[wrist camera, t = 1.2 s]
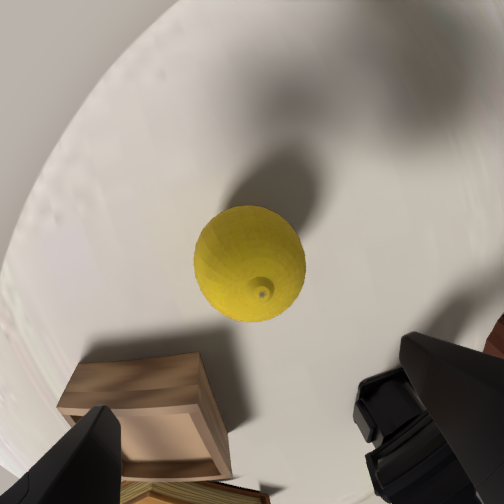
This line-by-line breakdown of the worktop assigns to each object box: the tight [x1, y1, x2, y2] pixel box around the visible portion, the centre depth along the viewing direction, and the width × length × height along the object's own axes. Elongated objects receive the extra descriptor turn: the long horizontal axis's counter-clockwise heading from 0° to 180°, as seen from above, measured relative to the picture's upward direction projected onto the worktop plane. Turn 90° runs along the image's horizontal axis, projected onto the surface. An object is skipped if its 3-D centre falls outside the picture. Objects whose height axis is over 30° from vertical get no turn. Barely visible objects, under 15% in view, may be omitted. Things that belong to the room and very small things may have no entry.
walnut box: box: [56, 352, 233, 482], centre depth 19 cm, size 11×11×6 cm
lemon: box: [194, 205, 306, 322], centre depth 15 cm, size 6×6×8 cm
